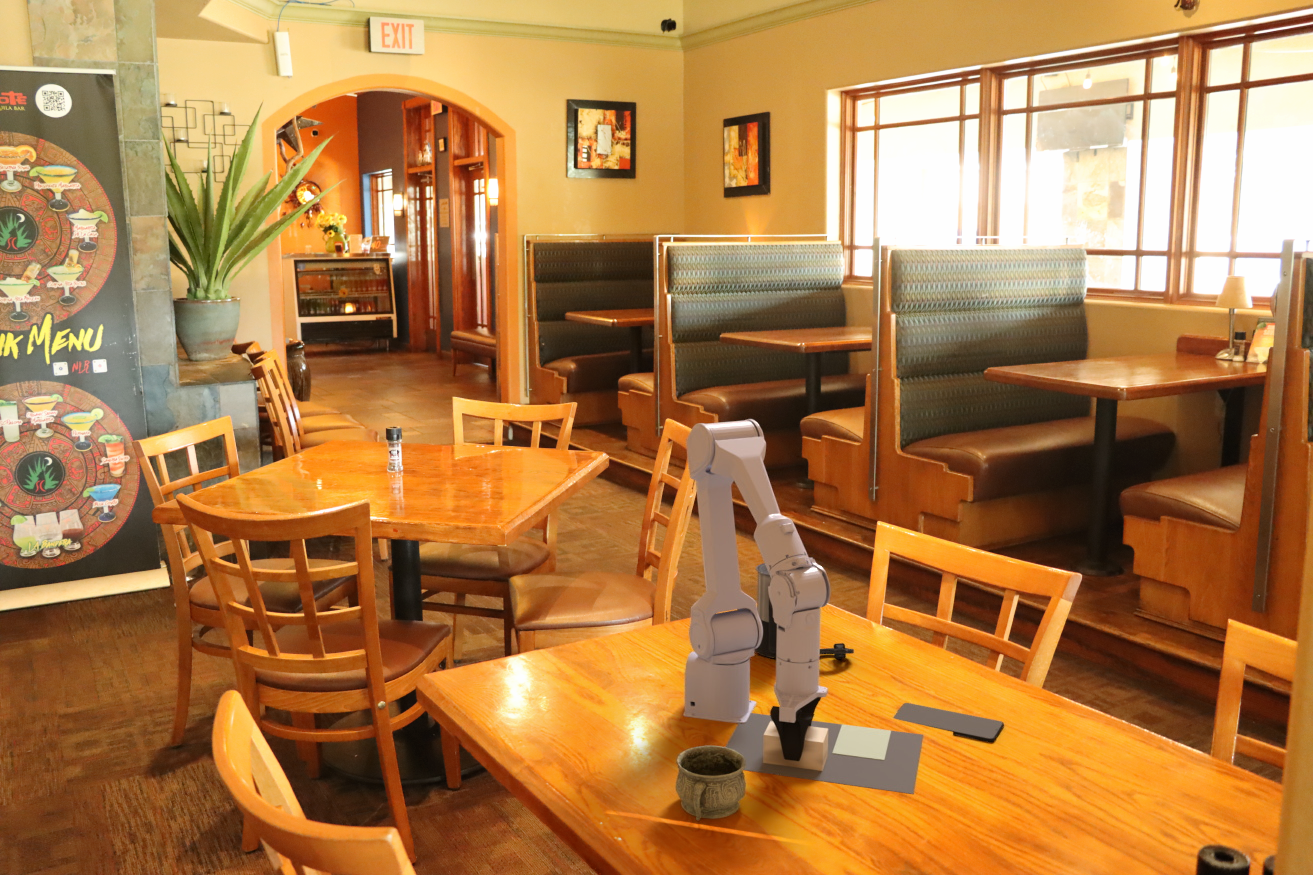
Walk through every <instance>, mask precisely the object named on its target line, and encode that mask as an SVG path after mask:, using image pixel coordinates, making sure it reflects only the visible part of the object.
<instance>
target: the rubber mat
mask: <svg viewBox="0 0 1313 875" xmlns="http://www.w3.org/2000/svg"><path fill="white" fill-rule="evenodd" d="M770 721H772V719H771V716H770V714H763V713H753V712H752V713H751V714H750V716H749V718H748V720H747V722H746V723H744V724H742V723H737V725H736V727H735V729H734V731H732V732H733V733H732V734H731V736H730V738H729V740H728V741H727V744H726V745H725V746H724V747H726V748H730V749H733V750H735V751H737V752H738V753H740V754H741V755H743V757H744V758H745V760H746V766H745V768H744V769H743V771H749V772H754V773H761V774H769V775H776V776H783V777H790V778H798V779H802V780H803V779H804V780H810V781H811V780H812V781H818V782H825V783H833V784H840V785H846V786H853V787H859V788H860V787H861V788H865V789H866V788H868V789H874V790H881V791H888V792H896V793H902V794H909V795H915V794H914V793H915V787H916V782H917V776H918V771H919V764H920V757H921V754H922V753H921V751H922V747H923V740H924V734H921V733H915V732H914V733H913V732H904V731H898V730H897V731H896V730H890V729H884V728H883V729H882V728H873V727H867V726H866V727H865V726H857V725H851V724H850V725H848V724H843V723H842V724H841V723H834V722H826V721H825V722H824V721H818V720H812V724H811V726H812V727H820V728H828V757H827V759H826V762H825V765H824V768H823V771H819V770H812V769H805V768H797V767H790V766H783V765H776V764H769V763H763V739H764V733H765V731H766V729H767V727H768V725H769V723H770Z"/></svg>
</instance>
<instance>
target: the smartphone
mask: <svg viewBox="0 0 1313 875" xmlns="http://www.w3.org/2000/svg"><path fill="white" fill-rule="evenodd" d="M893 719H895V720H898V721H902V722H907V723H910V724H911V723H912V724H916V725H920V726H926V727H930V728H932V729H933V728H934V729H938V730H941V731H942V730H943V731H948V732H951V733H952V735H954V736H957V737H958V736H959V737H961V738H962V737H963V738H968V739H973V740H975V741H980V742H981V741H982V742H985V743H990V744H991V743H995V742H996V740H997V739H998V737H999V736H1000V734H1001V732H1002V730H1003V728H1004V727H1005V724H1004V722H1003V721H1001V720H997V719H991V718H986V717H982V716H981V717H980V716H976V715H971V714H967V713H966V714H965V713H960V712H956V711H950V710H945V709H940V708H936V707H929V706H925V705H920V704H914V703H910V702H904V703H903V704H902V705H901V706H900V707H899V708H898V710H896V713H895V714H894V715H893Z"/></svg>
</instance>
